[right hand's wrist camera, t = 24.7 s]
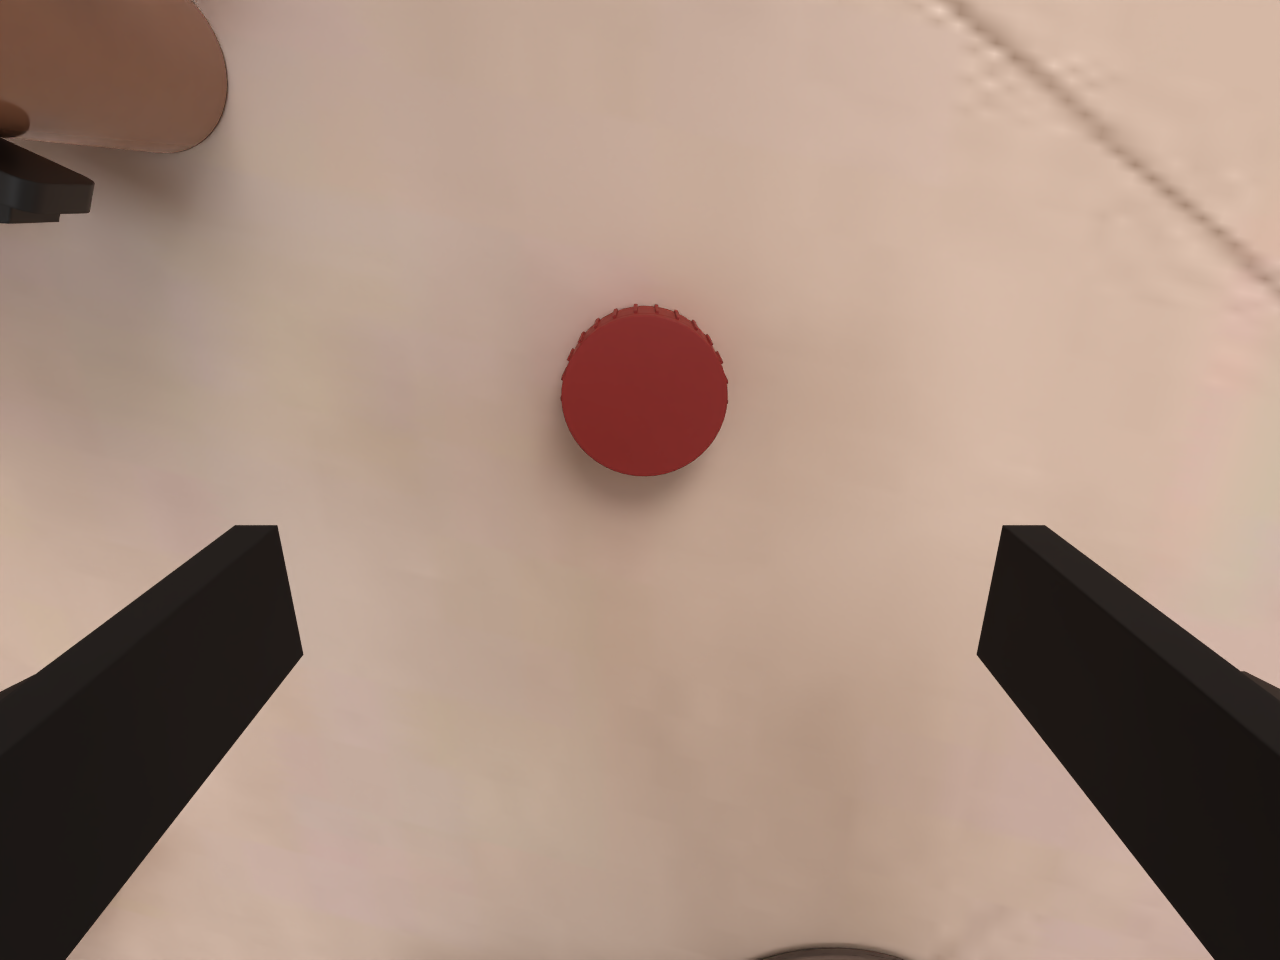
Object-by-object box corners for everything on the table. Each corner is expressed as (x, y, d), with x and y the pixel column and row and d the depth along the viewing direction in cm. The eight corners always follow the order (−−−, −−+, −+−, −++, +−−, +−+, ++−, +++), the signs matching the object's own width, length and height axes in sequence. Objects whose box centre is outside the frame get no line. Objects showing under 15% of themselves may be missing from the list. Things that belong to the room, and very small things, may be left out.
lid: (628, 268, 22) (627, 274, 20) (755, 368, 23) (765, 383, 21) (534, 398, 24) (525, 415, 22) (658, 485, 25) (660, 508, 23)
